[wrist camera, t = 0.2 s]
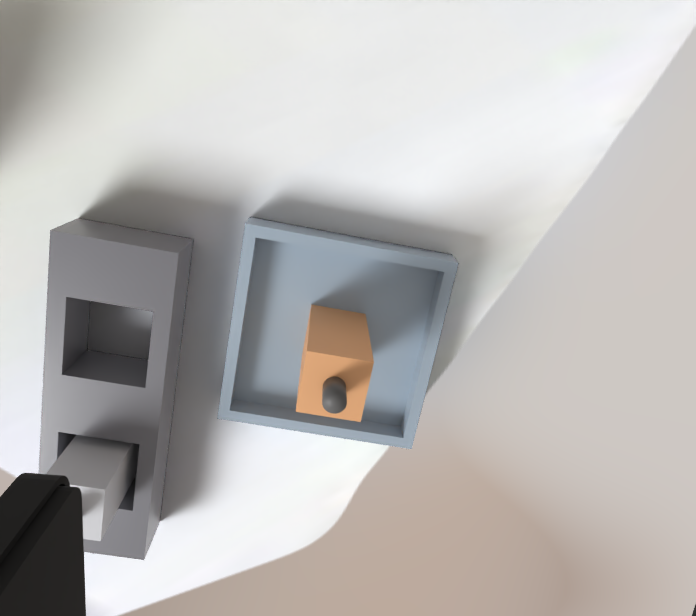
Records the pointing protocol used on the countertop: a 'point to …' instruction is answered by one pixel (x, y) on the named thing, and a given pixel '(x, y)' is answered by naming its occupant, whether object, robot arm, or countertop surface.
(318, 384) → the plug
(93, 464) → the twin plug
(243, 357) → the tray
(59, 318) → the grey two-slot holder
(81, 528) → the robot arm
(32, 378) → the countertop surface
